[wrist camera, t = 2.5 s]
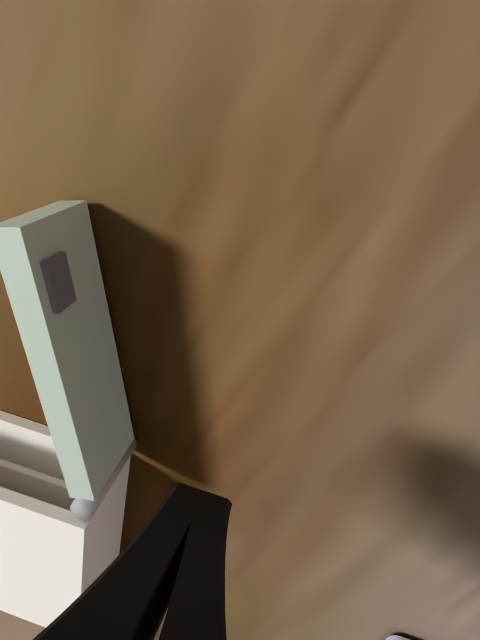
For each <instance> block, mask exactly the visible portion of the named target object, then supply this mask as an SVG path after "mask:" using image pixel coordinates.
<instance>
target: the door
mask: <svg viewBox="0 0 480 640" xmlns="http://www.w3.org/2000/svg"><path fill="white" fill-rule="evenodd" d="M0 270H1V273H2V277H3V280H4V283H5V287H6V290H7V293H8V296H9V300H10V303H11V306H12V310H13V313H14V316H15V319H16V323H17V326H18V329H19V332H20V336H21V339H22V342H23V346H24V349H25V352H26V355H27V359H28V362H29V365H30V368H31V372H32V375H33V378H34V382H35V385H36V388H37V391H38V395H39V398H40V401H41V405H42V408H43V411H44V414H45V418H46V421H47V424H48V427H49V431H50V434H51V437H52V441H53V444H54V447H55V450H56V454H57V457H58V460H59V464H60V467H61V470H62V473H63V477H64V480H65V483H66V486H67V490H68V493H69V496H70V497H71V498H75V500H74V501H73V503H72V504H71V506H70V510H71V512H72V513H73V515H75V516H76V517H77V518H79V519H82V520H90V519H92V517H93V516H94V514H95V512H96V511H97V509H98V507H99V506H100V504H101V503H102V501H103V499H104V498H105V496H106V494H107V493H108V491H109V489H110V488H111V486H112V485H113V483H114V481H115V480H116V478H117V476H118V475H119V473H120V472H121V470H122V468H123V467H124V465H125V463H126V462H127V460H128V459H129V457H130V455H131V454H132V452H133V450H134V449H135V447H136V445H137V441H136V439H135V438H134V434H133V429H132V424H131V419H130V414H129V409H128V404H127V399H126V394H125V389H124V384H123V379H122V374H121V369H120V364H119V359H118V354H117V349H116V344H115V339H114V334H113V329H112V324H111V319H110V314H109V310H108V305H107V300H106V295H105V290H104V285H103V280H102V275H101V270H100V265H99V260H98V255H97V250H96V245H95V240H94V235H93V230H92V225H91V220H90V215H89V210H88V205H87V201H58V202H55V203H52V204H49V205H47V206H44V207H41V208H39V209H36V210H33V211H30V212H28V213H25V214H22V215H19V216H17V217H14V218H11V219H9V220H6V221H3V222H0Z"/></svg>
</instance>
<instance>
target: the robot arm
mask: <svg viewBox="0 0 480 640" xmlns="http://www.w3.org/2000/svg"><path fill="white" fill-rule="evenodd" d="M231 506H232V503H231V502H230V500H229V499H227V498H224V497H221V496H218V495H215V494H212V493H209V492H206V491H203V490H200V489H197V488H194V487H191V486H188V485H185V484H182V483H177V484H174V485H173V487H172V488H171V490H170V491H169V493H168V495H167V496H166V497H165V499H164V500H163V502H162V503H161V505H160V506H159V507H158V509H157V510H156V511H155V513H154V514H153V515H152V516H151V518H150V519H149V520H148V521H147V523H146V524H145V525H144V526H143V528H142V529H141V530H140V531H139V532H138V534H137V535H136V536H135V537H134V538H133V539H132V540H131V542H130V543H129V544H128V545H127V546H126V547H125V548H124V550H123V551H122V552H121V553H120V554H119V555H118V556H117V558H116V559H115V560H114V561H113V562H112V563H111V564H110V565H109V566H108V567H107V568H106V569H105V570H104V571H103V572H102V573H101V574H100V575H99V577H98V578H97V579H96V580H95V581H94V582H93V583H92V584H91V585H90V586H89V587H88V588H87V589H86V590H85V591H84V592H83V593H82V594H81V595H80V596H79V597H78V598H77V599H76V600H75V601H74V602H73V603H72V604H71V605H70V606H69V607H68V608H67V609H66V610H64V611H63V612H62V613H61V614H60V615H59V616H58V617H57V618H56V619H55V620H54V621H53V622H52V623H50V624H49V625H48V626H47V627H46V628H45V629H44V630H43V631H42V632H41V633H39V634H38V635H37V636H36V637H35V638H34V639H33V640H154V638H155V636H156V633H157V631H158V629H159V627H160V624H161V622H162V620H163V617H164V615H165V613H166V610H167V608H168V610H167V614H166V617H165V621H164V624H163V627H162V630H161V634H160V637H159V640H226V622H225V553H226V538H227V528H228V521H229V515H230V510H231ZM168 606H169V607H168ZM386 640H410V639H407V638H404V637H401V636H398V635H392V636H389V637H388V638H387V639H386Z"/></svg>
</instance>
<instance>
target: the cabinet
mask: <svg viewBox="0 0 480 640" xmlns="http://www.w3.org/2000/svg"><path fill="white" fill-rule="evenodd" d="M130 458H131V455H130V457H129V459H128V460H127V462H126V463H125V465H124V467H123V468H122V470H121V472H120V473H119V475H118V476H117V478H116V480H115V481H114V483H113V485H112V486H111V488H110V489H109V491H108V493H107V494H106V496H105V498H104V499H103V501H102V503H101V504H100V506H99V507H98V509H97V511H96V512H95V514H94V516H93V517H92V519H90V520H82V519H79V518H77V517H76V516H75V515H73V513H72V512H71V510H70V506H71V504H72V503H73V501H74V500H75V498H71V497H70V496H69V493H68V490H67V486H66V483H65V480H64V477H63V473H62V470H61V467H60V464H59V460H58V457H57V454H56V450H55V447H54V444H53V441H52V437H51V434H50V431H49V427H48V426H46V425H43V424H40V423H37V422H34V421H31V420H28V419H25V418H22V417H19V416H16V415H13V414H10V413H7V412H4V411H1V410H0V610H1V611H4V612H6V613H9V614H11V615H14V616H17V617H19V618H22V619H25V620H27V621H30V622H33V623H35V624H38V625H41V626H43V627H47V626H48V625H49V624H50V623H52V622H53V621H54V620H55V619H56V618H57V617H58V616H59V615H60V614H61V613H62V612H63V611H64V610H66V609H67V608H68V607H69V606H70V605H71V604H72V603H73V602H74V601H75V600H76V599H77V598H78V597H79V596H80V595H81V594H82V593H83V592H84V591H85V590H86V589H87V588H88V587H89V586H90V585H91V584H92V583H93V582H94V581H95V580H96V579H97V578H98V577H99V575H100V574H101V573H102V572H103V571H104V570H105V569H106V568H107V567H108V566H109V565H110V564H111V563H112V562H113V561H114V560H115V559H116V558H117V556H118V555H119V552H120V543H121V535H122V526H123V518H124V509H125V500H126V492H127V483H128V475H129V466H130Z"/></svg>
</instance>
